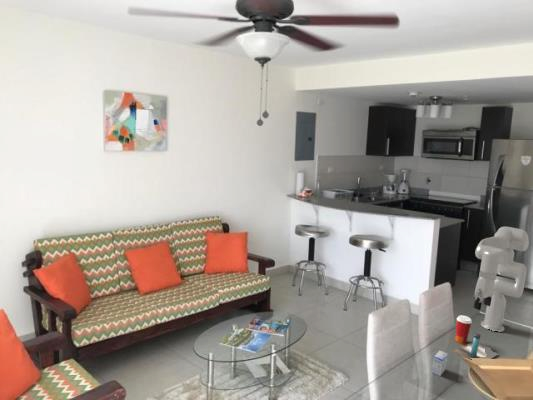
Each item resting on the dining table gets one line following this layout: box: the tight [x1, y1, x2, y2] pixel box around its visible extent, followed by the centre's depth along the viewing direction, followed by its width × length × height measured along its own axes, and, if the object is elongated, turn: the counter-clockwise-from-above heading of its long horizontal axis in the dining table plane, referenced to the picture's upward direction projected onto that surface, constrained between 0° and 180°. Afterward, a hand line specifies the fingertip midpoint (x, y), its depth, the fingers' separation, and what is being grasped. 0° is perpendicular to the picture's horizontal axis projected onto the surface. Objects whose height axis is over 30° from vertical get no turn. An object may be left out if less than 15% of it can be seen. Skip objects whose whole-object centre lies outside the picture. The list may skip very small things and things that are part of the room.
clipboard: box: [454, 341, 492, 359], centre depth 229 cm, size 18×14×2 cm
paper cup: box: [454, 315, 473, 345], centre depth 240 cm, size 8×8×14 cm
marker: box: [470, 332, 481, 358], centre depth 223 cm, size 3×3×12 cm
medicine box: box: [430, 350, 449, 377], centre depth 209 cm, size 8×4×9 cm, turn 141°
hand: (482, 307), depth 219 cm, fingers open, 9 cm apart
